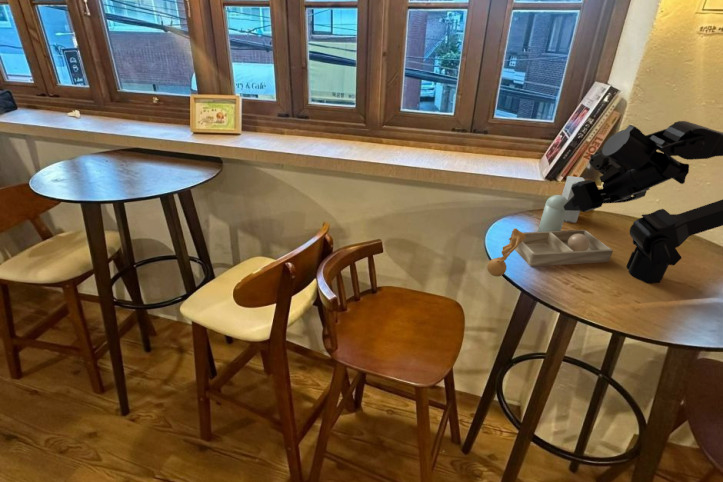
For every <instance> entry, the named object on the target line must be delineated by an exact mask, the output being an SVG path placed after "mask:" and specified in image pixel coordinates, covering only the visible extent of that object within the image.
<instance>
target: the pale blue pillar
mask: <svg viewBox="0 0 723 482" xmlns="http://www.w3.org/2000/svg"><path fill="white" fill-rule="evenodd" d="M567 202H568V201H567V199H566V198H565V197H563V196H562V194H554V195H552V196H550V197H549V198H548V199H547V200H546V202H545V204H544V208H543V211H542V215H541V219H540V223H539V226H538V229H537V232H546V231H562V227H563V225H564V219H565V216H566V213H567V210H565V209H564V205H565V204H566V203H567Z"/></svg>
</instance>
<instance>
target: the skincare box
mask: <svg viewBox="0 0 723 482" xmlns="http://www.w3.org/2000/svg"><path fill="white" fill-rule="evenodd" d="M585 180H586V179H585V178H584V177H581V176H572V175H568V176H566V180H565V184H564V188H563V190H562V193H561V196H563V197H565V198H566V199H567V201H569V200H570V199H571V198H572V197H573V196H574V194H573V191H572V189H571V187H572V185H574V184H575V183H577V182H580V181H585ZM580 213H581V211H569V210H567V213H566V216H565V219H564V222H565V223H572V224H573V223H574V224H576V223H577V222H578V218H579V216H580ZM564 222H563V223H564Z"/></svg>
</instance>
